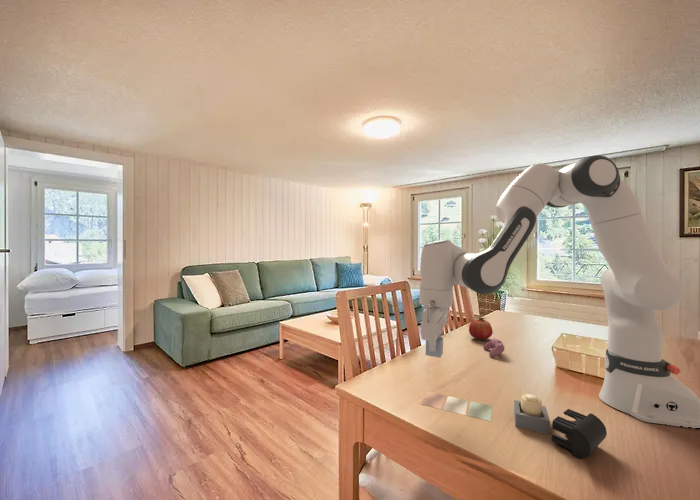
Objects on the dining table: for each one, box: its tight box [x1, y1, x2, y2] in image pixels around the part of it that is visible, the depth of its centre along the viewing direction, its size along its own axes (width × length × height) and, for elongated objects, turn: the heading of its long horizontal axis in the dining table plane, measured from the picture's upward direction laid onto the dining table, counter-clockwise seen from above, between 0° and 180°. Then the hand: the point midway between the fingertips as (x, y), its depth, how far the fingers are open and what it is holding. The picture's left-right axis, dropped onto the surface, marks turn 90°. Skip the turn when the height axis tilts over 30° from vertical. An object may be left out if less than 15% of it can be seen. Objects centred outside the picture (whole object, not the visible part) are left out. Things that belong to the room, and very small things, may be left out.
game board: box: [420, 391, 493, 422], centre depth 83 cm, size 18×10×1 cm, turn 64°
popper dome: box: [520, 393, 543, 417], centre depth 75 cm, size 4×4×5 cm
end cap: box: [551, 408, 608, 460], centre depth 67 cm, size 10×7×7 cm
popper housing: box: [513, 399, 551, 435], centre depth 75 cm, size 7×7×4 cm
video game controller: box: [482, 338, 505, 358], centre depth 124 cm, size 10×5×7 cm, turn 171°
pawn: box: [425, 333, 444, 358], centre depth 85 cm, size 4×4×7 cm
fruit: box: [468, 317, 494, 340], centre depth 142 cm, size 11×10×10 cm
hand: (434, 347), depth 85 cm, fingers closed on pawn, 4 cm apart
